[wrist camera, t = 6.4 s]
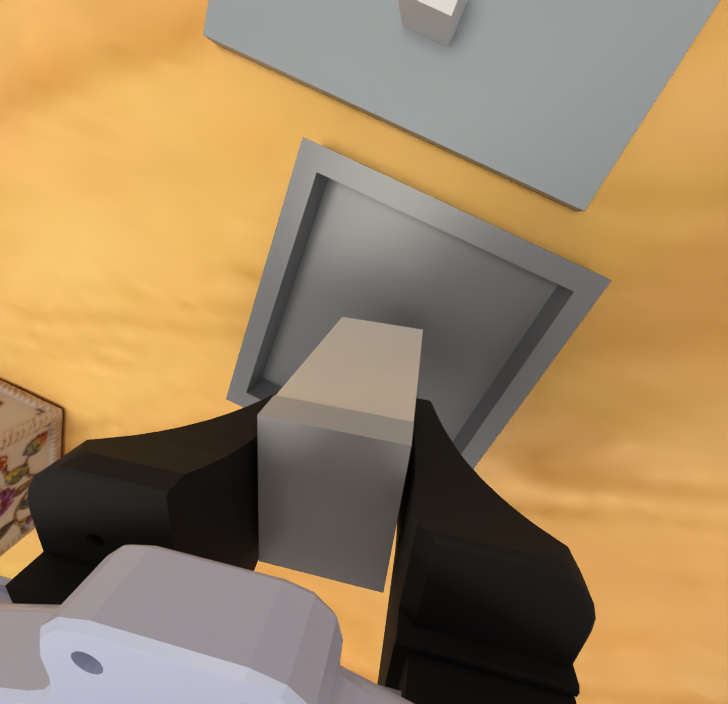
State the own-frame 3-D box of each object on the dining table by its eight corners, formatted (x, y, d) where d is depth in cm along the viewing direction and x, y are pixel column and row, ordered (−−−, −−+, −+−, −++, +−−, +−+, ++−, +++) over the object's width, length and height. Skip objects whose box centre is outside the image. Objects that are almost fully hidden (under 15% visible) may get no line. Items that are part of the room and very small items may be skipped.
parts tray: (588, 270, 17) (611, 280, 15) (446, 474, 23) (447, 503, 20) (320, 146, 17) (302, 136, 15) (246, 379, 23) (226, 398, 21)
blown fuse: (423, 328, 13) (411, 446, 7) (405, 423, 15) (383, 592, 8) (342, 315, 13) (257, 414, 7) (334, 409, 15) (258, 560, 9)
